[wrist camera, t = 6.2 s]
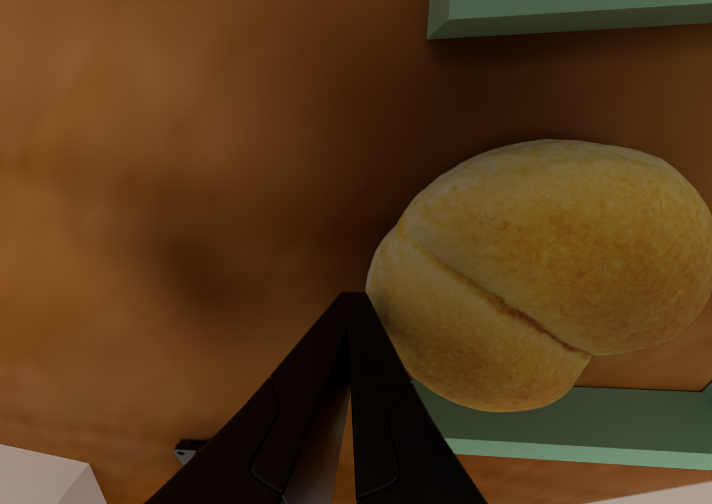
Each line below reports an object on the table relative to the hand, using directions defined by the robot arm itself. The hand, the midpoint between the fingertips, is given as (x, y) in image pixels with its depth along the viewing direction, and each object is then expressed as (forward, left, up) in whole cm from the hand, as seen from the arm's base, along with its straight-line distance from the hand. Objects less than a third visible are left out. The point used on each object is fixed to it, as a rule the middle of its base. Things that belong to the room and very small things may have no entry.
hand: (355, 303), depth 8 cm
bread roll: (0, -5, -3) cm, 5 cm away
